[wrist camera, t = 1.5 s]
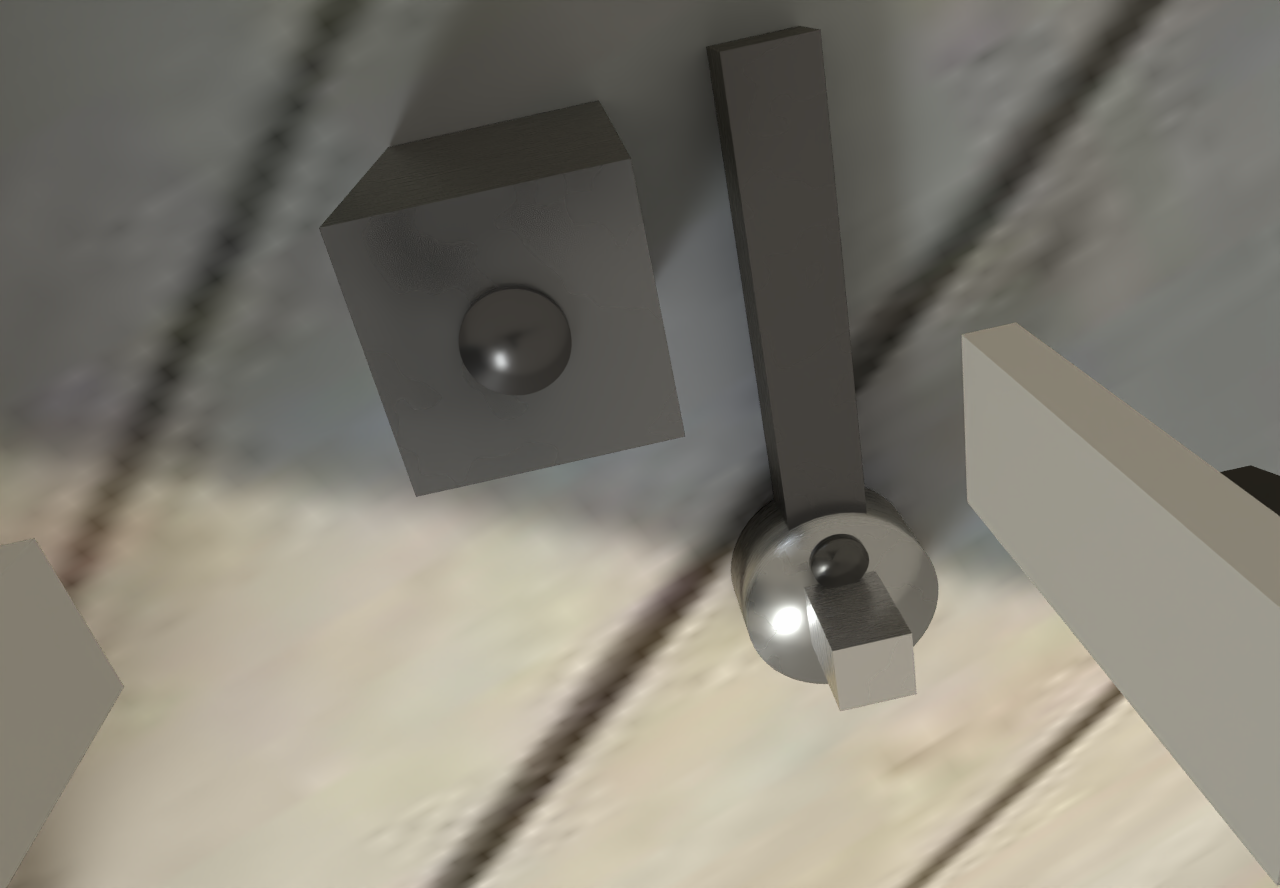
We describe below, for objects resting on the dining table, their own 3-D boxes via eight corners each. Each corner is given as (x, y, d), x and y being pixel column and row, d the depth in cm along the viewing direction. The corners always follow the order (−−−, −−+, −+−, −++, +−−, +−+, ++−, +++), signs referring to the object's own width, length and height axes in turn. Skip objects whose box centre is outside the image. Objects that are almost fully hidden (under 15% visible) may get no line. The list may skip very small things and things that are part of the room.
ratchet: (744, 650, 37) (783, 772, 32) (636, 62, 27) (664, 84, 21) (913, 612, 37) (982, 727, 32) (869, 10, 27) (960, 18, 21)
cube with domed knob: (450, 345, 30) (414, 502, 21) (388, 147, 27) (316, 230, 18) (640, 302, 30) (686, 441, 21) (598, 100, 27) (631, 160, 18)
